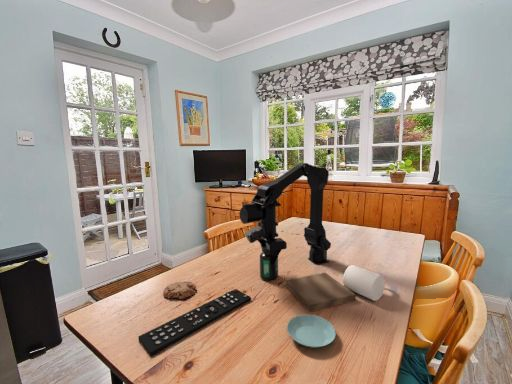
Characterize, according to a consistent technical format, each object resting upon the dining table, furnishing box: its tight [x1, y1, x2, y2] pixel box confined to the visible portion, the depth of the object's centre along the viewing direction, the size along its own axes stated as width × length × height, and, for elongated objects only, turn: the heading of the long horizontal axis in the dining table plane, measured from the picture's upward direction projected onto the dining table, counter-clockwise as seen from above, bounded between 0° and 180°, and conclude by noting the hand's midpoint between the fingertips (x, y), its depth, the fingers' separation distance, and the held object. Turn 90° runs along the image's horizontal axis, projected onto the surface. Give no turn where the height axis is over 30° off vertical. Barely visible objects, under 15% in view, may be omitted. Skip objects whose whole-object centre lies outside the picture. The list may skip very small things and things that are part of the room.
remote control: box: [137, 288, 252, 357], centre depth 73 cm, size 8×32×2 cm, turn 134°
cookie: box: [162, 281, 197, 300], centre depth 86 cm, size 10×11×3 cm
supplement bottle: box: [259, 245, 279, 282], centre depth 95 cm, size 7×7×12 cm
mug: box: [342, 264, 386, 302], centre depth 84 cm, size 12×10×8 cm
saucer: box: [286, 314, 337, 349], centre depth 64 cm, size 12×12×2 cm
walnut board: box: [285, 272, 356, 312], centre depth 84 cm, size 16×16×2 cm
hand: (268, 260), depth 95 cm, fingers closed on supplement bottle, 7 cm apart
